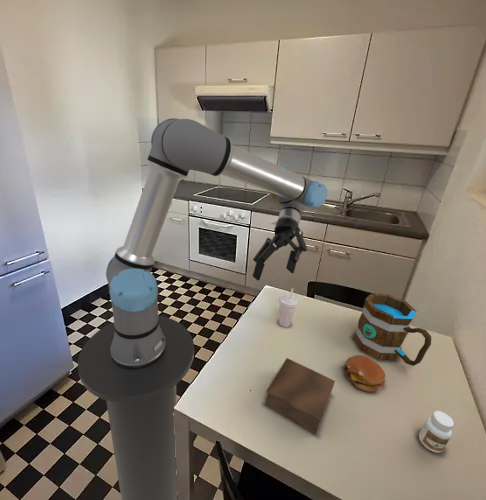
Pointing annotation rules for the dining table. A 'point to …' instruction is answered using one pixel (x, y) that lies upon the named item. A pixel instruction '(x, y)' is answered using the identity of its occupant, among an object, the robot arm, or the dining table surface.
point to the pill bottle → (436, 431)
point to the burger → (364, 373)
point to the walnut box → (300, 394)
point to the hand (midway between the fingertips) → (271, 274)
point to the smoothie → (287, 308)
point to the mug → (387, 328)
